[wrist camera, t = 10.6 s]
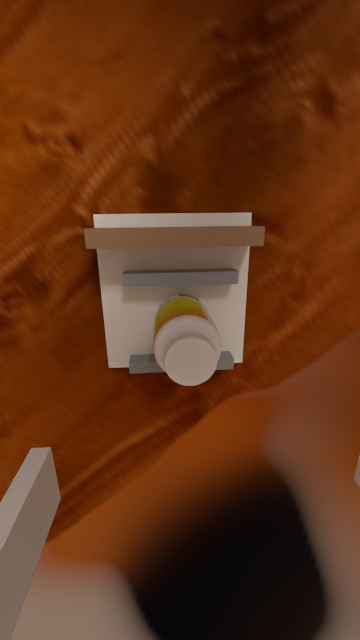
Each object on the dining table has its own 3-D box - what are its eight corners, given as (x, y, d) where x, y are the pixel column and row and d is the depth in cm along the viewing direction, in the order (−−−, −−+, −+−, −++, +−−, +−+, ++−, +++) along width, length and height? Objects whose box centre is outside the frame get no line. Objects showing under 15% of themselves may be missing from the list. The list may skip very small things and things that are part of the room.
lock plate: (95, 214, 28) (82, 213, 23) (248, 212, 29) (266, 211, 24) (110, 363, 33) (102, 387, 28) (239, 358, 34) (252, 380, 29)
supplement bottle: (144, 314, 30) (136, 358, 21) (185, 281, 29) (197, 311, 20) (177, 351, 32) (184, 408, 22) (217, 321, 31) (243, 366, 21)
